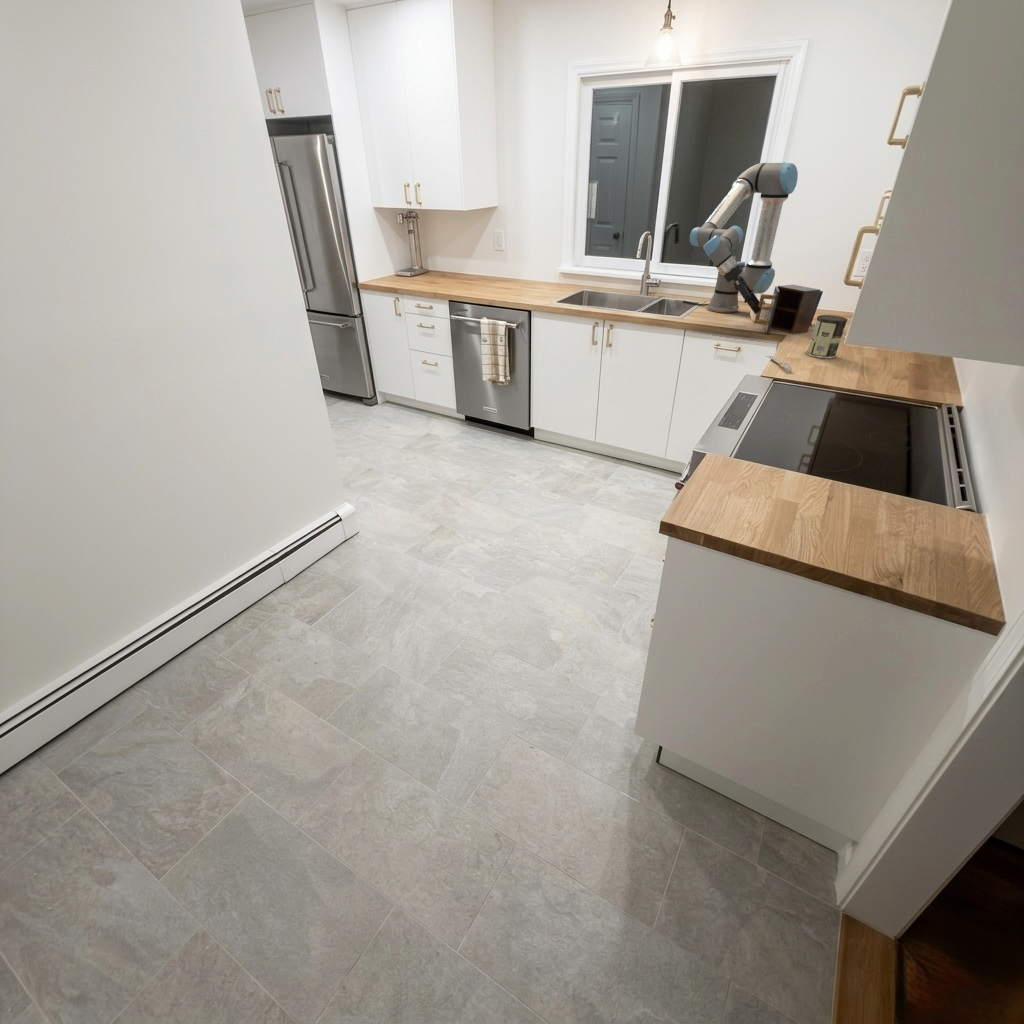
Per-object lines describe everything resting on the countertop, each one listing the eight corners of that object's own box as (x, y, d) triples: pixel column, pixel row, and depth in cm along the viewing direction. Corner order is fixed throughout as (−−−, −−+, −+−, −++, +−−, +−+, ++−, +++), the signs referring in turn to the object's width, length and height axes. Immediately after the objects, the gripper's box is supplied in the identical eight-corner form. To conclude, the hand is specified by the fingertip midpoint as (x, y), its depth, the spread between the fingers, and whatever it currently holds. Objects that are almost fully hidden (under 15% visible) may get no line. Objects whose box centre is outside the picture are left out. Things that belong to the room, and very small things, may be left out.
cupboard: (792, 334, 238) (804, 291, 228) (767, 327, 249) (777, 285, 239) (807, 332, 242) (820, 289, 232) (782, 325, 252) (793, 284, 243)
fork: (770, 362, 208) (771, 355, 207) (793, 373, 189) (795, 365, 188) (762, 362, 208) (764, 355, 207) (785, 373, 189) (787, 365, 188)
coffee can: (830, 352, 213) (842, 315, 206) (838, 359, 205) (851, 321, 197) (803, 350, 215) (814, 314, 208) (809, 357, 206) (821, 319, 199)
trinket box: (773, 324, 253) (778, 303, 248) (749, 323, 255) (754, 302, 250) (768, 319, 262) (774, 299, 257) (745, 318, 264) (750, 298, 259)
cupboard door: (752, 332, 239) (762, 290, 229) (751, 325, 250) (761, 285, 241) (768, 334, 237) (779, 291, 228) (767, 327, 248) (777, 286, 239)
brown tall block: (808, 326, 251) (819, 292, 243) (794, 324, 255) (804, 290, 247) (815, 324, 254) (825, 291, 246) (801, 322, 259) (811, 289, 251)
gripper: (737, 267, 220) (766, 308, 223) (738, 259, 240) (766, 298, 243) (720, 280, 224) (750, 320, 228) (723, 272, 244) (750, 309, 248)
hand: (758, 309), depth 236 cm, fingers open, 13 cm apart
